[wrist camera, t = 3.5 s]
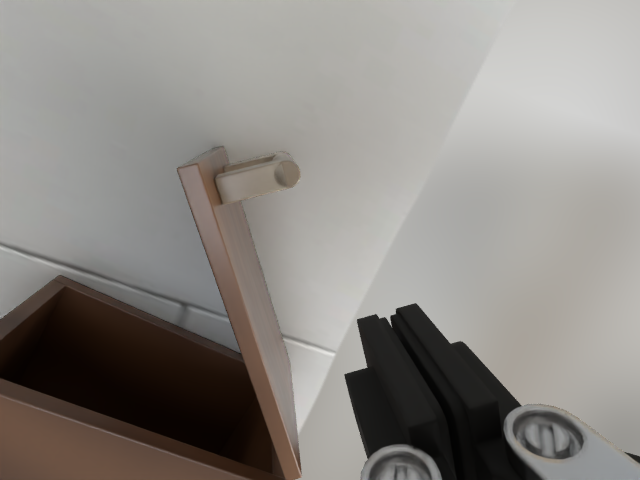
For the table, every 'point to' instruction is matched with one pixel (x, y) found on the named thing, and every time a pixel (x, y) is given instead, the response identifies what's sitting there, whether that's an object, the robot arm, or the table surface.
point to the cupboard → (122, 396)
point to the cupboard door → (247, 278)
